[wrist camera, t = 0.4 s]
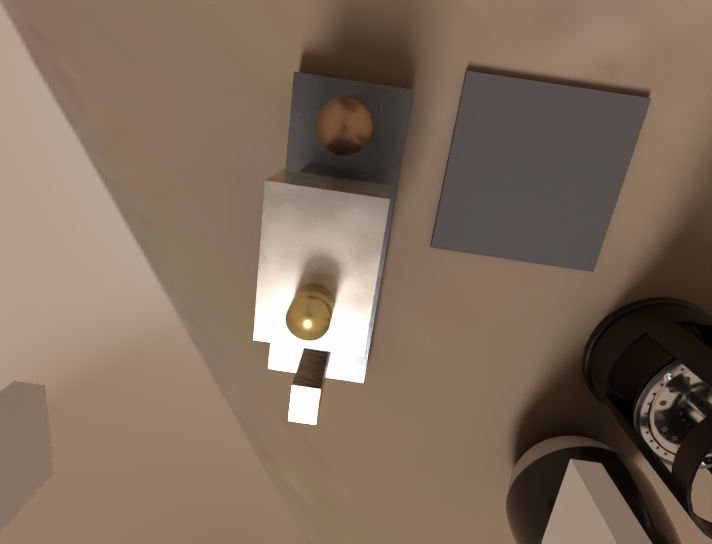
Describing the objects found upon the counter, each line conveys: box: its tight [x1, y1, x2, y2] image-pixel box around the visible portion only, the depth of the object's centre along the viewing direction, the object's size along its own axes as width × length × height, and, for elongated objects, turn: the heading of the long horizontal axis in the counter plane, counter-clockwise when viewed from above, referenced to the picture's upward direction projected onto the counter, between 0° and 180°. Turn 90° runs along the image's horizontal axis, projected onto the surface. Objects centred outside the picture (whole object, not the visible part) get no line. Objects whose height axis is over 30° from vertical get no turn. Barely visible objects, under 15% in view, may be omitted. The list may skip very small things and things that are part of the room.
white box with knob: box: [253, 170, 390, 357], centre depth 23 cm, size 8×6×6 cm
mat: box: [430, 71, 651, 272], centre depth 29 cm, size 11×11×1 cm
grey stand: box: [268, 72, 414, 425], centre depth 28 cm, size 20×7×8 cm, turn 172°
